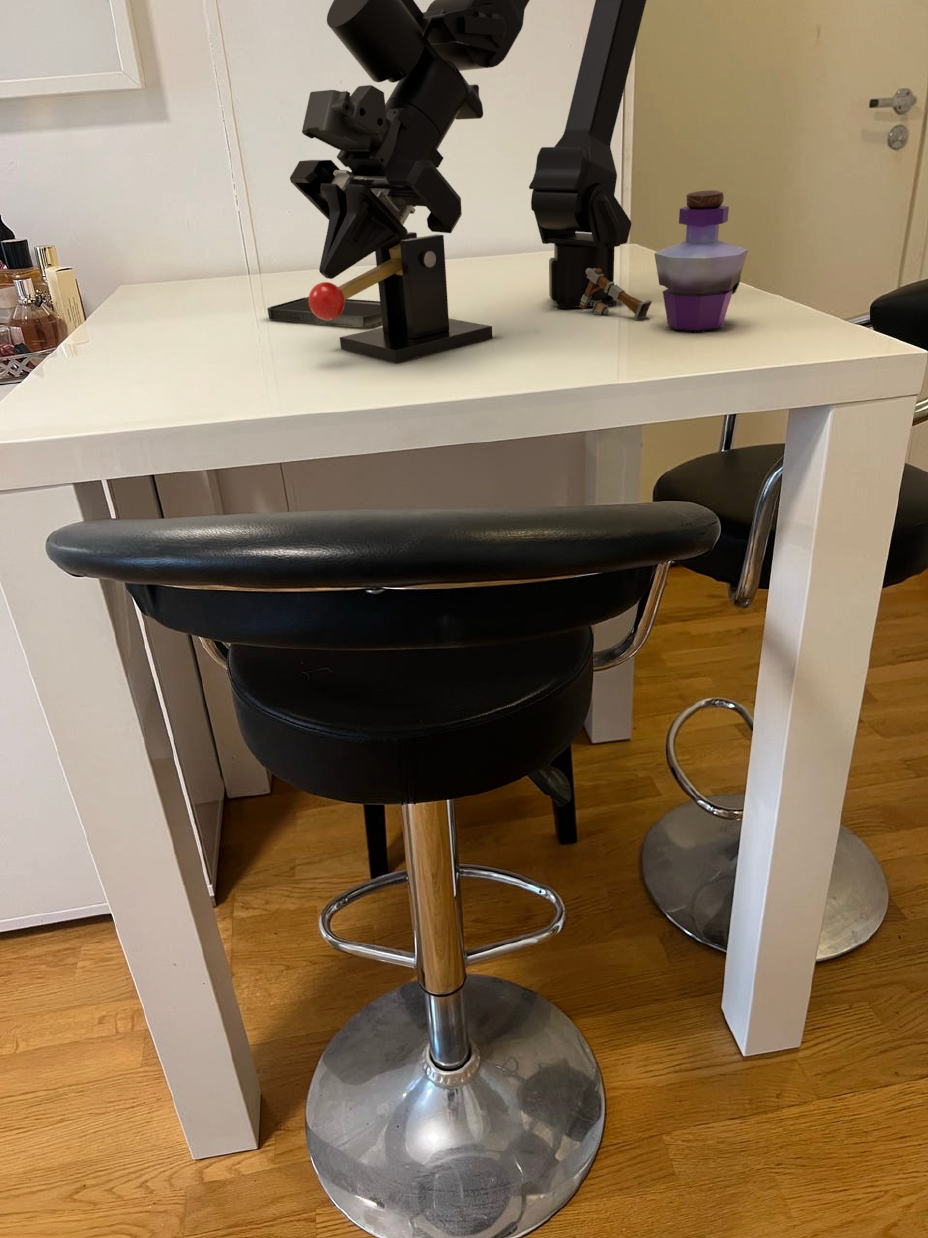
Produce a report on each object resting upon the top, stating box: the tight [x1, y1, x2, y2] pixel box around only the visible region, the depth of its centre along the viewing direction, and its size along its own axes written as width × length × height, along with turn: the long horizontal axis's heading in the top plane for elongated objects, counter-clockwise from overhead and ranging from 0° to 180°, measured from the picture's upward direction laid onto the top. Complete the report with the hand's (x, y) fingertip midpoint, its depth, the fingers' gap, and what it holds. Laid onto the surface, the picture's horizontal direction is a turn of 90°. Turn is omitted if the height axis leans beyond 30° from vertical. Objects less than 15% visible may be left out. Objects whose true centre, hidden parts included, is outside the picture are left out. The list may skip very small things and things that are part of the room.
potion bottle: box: [654, 189, 749, 334], centre depth 84 cm, size 9×9×12 cm
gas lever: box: [308, 238, 412, 320], centre depth 81 cm, size 13×3×3 cm, turn 131°
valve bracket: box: [339, 231, 494, 364], centre depth 85 cm, size 12×9×10 cm
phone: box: [266, 296, 382, 328], centre depth 100 cm, size 8×1×15 cm
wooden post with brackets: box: [578, 268, 653, 321], centre depth 93 cm, size 2×8×4 cm, turn 48°
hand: (325, 275), depth 78 cm, fingers closed
